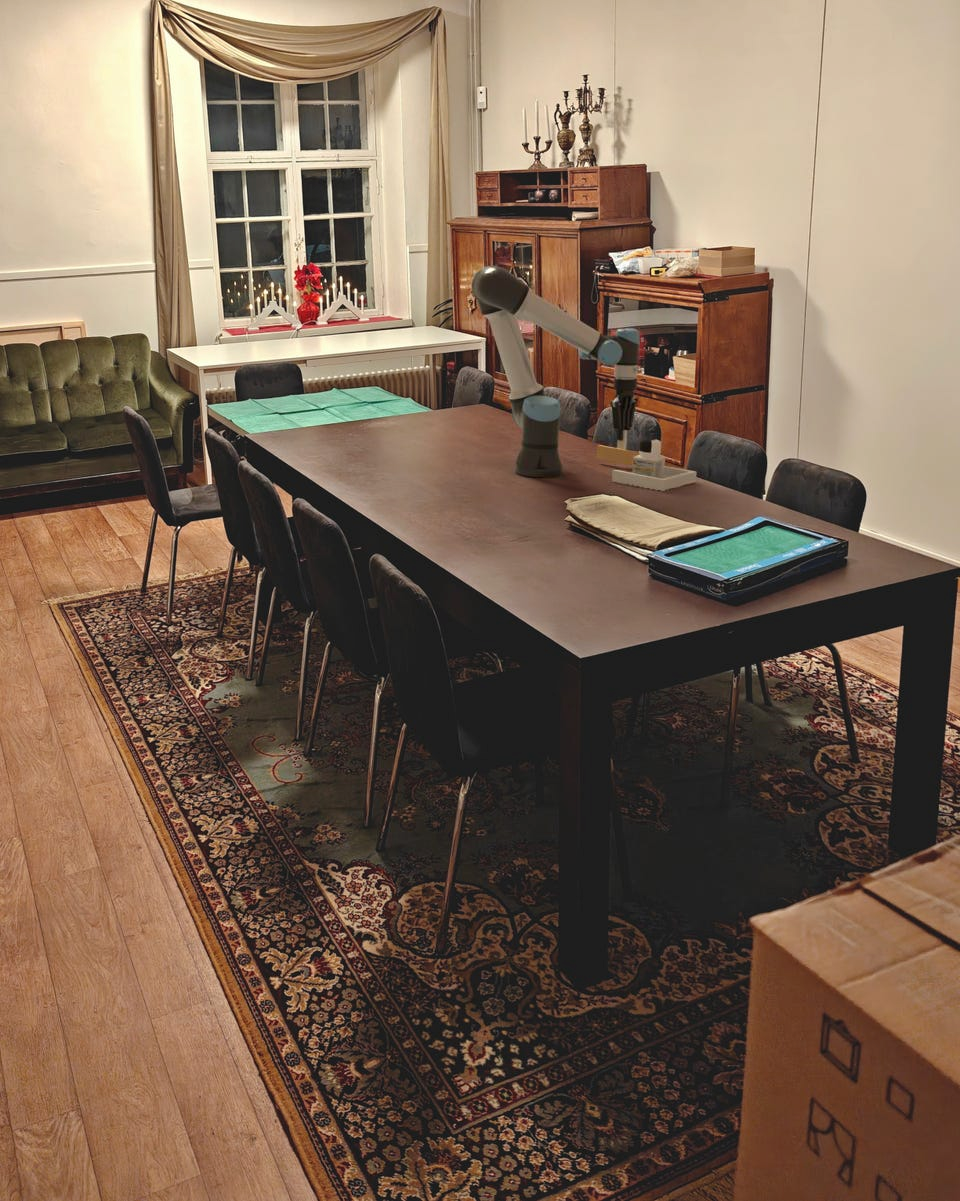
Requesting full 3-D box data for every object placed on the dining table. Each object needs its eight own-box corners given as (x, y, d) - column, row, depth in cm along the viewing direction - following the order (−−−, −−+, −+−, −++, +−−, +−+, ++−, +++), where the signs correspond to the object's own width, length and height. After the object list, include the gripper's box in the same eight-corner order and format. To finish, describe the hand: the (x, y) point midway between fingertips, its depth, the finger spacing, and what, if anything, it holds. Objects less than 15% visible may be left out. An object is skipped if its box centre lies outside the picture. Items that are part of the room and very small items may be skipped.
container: (631, 481, 355) (634, 439, 351) (640, 477, 361) (643, 436, 357) (654, 484, 351) (657, 442, 347) (663, 480, 357) (667, 439, 353)
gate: (595, 459, 379) (596, 442, 377) (599, 458, 381) (600, 441, 379) (645, 468, 367) (646, 451, 365) (649, 467, 369) (650, 450, 367)
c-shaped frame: (663, 491, 342) (664, 480, 341) (611, 481, 353) (612, 470, 352) (695, 482, 356) (696, 471, 355) (645, 473, 367) (646, 462, 366)
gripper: (624, 380, 363) (619, 454, 371) (646, 377, 373) (641, 448, 380) (604, 378, 368) (600, 450, 375) (627, 375, 377) (623, 445, 385)
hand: (621, 449), depth 378 cm, fingers closed
